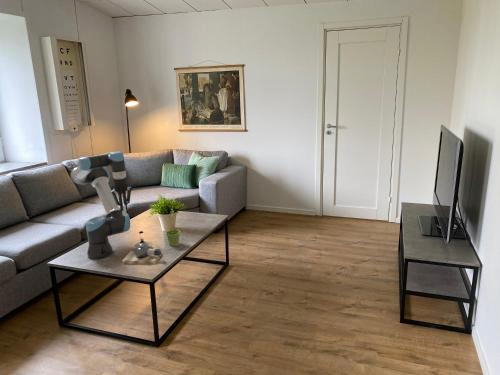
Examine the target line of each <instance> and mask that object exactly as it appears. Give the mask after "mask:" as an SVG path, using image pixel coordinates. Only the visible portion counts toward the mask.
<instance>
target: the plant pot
mask: <svg viewBox="0 0 500 375" xmlns="http://www.w3.org/2000/svg"><path fill="white" fill-rule="evenodd" d="M165 235H166V238H167V240H168V245H169V246H171V247H176V246H178V245H179V243H180V235H181V230H179V229H169V230H167V231H166V232H165Z"/></svg>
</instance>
